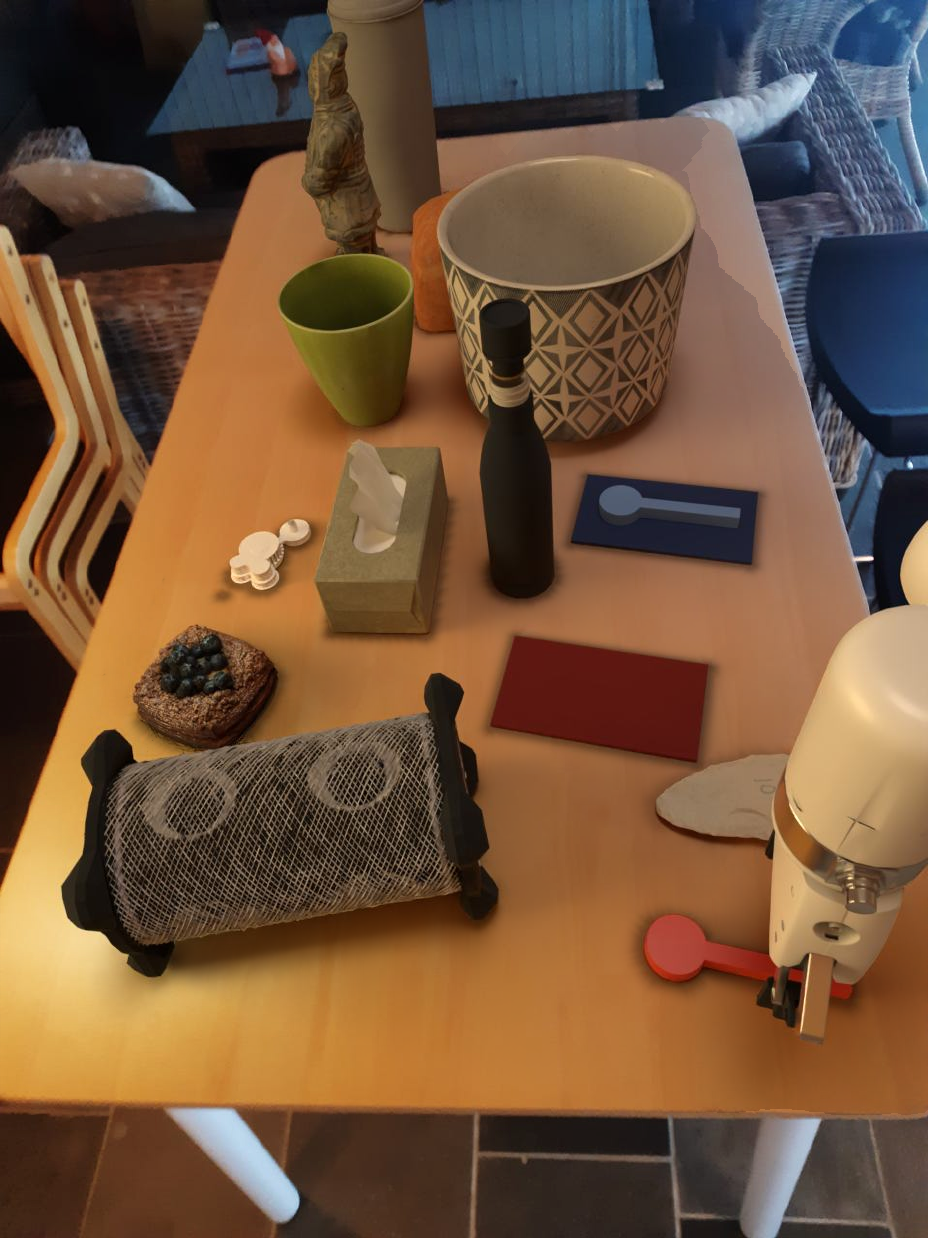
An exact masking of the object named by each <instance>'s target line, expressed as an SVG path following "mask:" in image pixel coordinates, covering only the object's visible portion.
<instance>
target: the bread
mask: <svg viewBox="0 0 928 1238" xmlns="http://www.w3.org/2000/svg"><path fill="white" fill-rule="evenodd" d="M465 187H466V186H463V187H461V188H458V189H455V190H452V191H449V192H446V193H443V194H442V195H440V196H437V197H434V198H431V199H430V200H429V201H427V202H426V203H425V204H423V205H422V206H420V207H419V208H418V209H417V211H416V212H415V213H414V214H413V231H412V233H411V234H412V235H411V236H412V239H411V245H410V253H409V254H410V255H409V258H410V268H411V269H410V270H411V275H412V277H413V281H414V313H415V315H416V320H417V324H418V327H419V329H422V330H425V331H428V332H434V333H435V332H446V331H456V329H455V324H454V319H453V314H452V309H451V303H450V298H449V293H448V288H447V283H446V278H445V273H444V268H443V263H442V258H441V253H440V248H439V242H438V237H437V225H438V220H439V218H440V215H441V213H442V211H443V209H444V208H445V206H446V205H447V204H448V202H449V201H450V200H451V199H452V198H453V197H454V196H455V195H456V194H457V193H458V192H460V191H461V190H462V189H463V188H465Z"/></svg>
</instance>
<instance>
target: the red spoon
mask: <svg viewBox="0 0 928 1238" xmlns="http://www.w3.org/2000/svg"><path fill="white" fill-rule="evenodd" d="M645 935H646V936H645V940H644V954H645V958H646V961H647V963H648V965H649V966H650V968H651V969H652V970H653V971H654V972H655V973H656V974H657V975H659V976H660V977H661V978H663V979H665V980H669V981H672V982H685V981H688V980H691V979H692V978H694V977H695V976H697V975H698V974H699V973H700V972H701V970H702V968H708V969H712V970H716V971H721V972H725V973H729V974H734V975H738V976H742V977H747V978H752V979H756V980H761V981H764V982H765V981H766V980H767V978H769V977H770V976H773V977H774V976H775V971H776V965H775V963H774V962H773V961H772V959H771V957H770V954H767V953H764V952H763V953H762V952H757V951H753V950H749V949H744V948H740V947H735V946H732V945H727V944H723V943H722V944H721V943H718V942H713V941H708V940H707V937H706V935H705V933H704V931H703V929H702V928H701V926H699V924H698V923H697V922H695V921H694V920H693V919H691V918H689V917H688V916H685V915H682V914H677V913H670V914H664V915H662V916H660V917H658V918H656V919H655V920H654V921H653V922H652V923H651V924H650V926H649V927H648V929H647V931H646V934H645ZM802 977H803V971H800V970H796V969H791V968H790V973H789V977H788V979H789V980H793V981H797V982H802ZM852 993H853V985H852V984H844V983H837V982H836V981H835V980H834V978H832V982H831V991H830V997H833V998H840V999H843V1000H848V998H849V997H851V995H852Z"/></svg>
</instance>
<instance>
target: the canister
mask: <svg viewBox="0 0 928 1238" xmlns="http://www.w3.org/2000/svg"><path fill="white" fill-rule="evenodd" d="M424 1H425V0H327V8H326V14H327V15H328V17H329V22H330V26H331V29H332V30H331V32H332V34H333V33H335V32H344V33H345V34H346V36H347V43H348V46H347V50H346V52H345V53H346V54H345V59H344V60H345V64H346V65H345V70H346V73H347V77H348V88H347V92H348V93H349V94H350V95H351V97H352V98H353V100H354V102H355V103H356V105H357V107H358V110H359V113H360V117H361V120H362V121H363V125H364V131H363V138H364V145H365V148H364V150H365V155H364V156H365V160H366V163H367V166H368V170H369V174H370V176H371V179H372V183H373V186H374V189H375V192H376V195H377V197H378V199H379V201H380V204H381V207H380V210H381V216H380V218H379V219H378V221H377V225H376V226H378V227H379V228H381V229H383V230H385V231H389V232H393V233H407V232H409V233H410V232H413V214H414V213H415V212H416V211H417V209H418V208H419V207H420V206H422V205H423V204H425V203H426V202H427V201H429V200H430V199H431V198H434V197H437V196H440V195H443V194H442V185H441V175H440V165H439V164H440V163H439V162H440V161H439V154H438V153H439V152H438V142H437V131H436V121H435V120H436V119H435V110H434V100H433V89H432V81H431V69H430V60H429V50H428V49H429V48H428V40H427V30H426V29H427V28H426V19H425V10H424V9H425V8H424Z"/></svg>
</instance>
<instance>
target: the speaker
mask: <svg viewBox="0 0 928 1238" xmlns="http://www.w3.org/2000/svg"><path fill="white" fill-rule="evenodd" d="M464 696H465V690H464V689H463V687H462V685H461V683H459V682H458V681H456V680H453V679H452V678H451V677H448V676H447V675H445V674H443V673H442V672H433V673H431V674H430V675H429V677H428V679H427V681H426V683H425V684H424V690H423V701H424V705H425V706H426V709H427V711H428V712H418V713H412V714H409V715H404V716H401V715H399V716H396V717H392V718H387V719H379V720H374V721H372V720H370V721H366V722H363V723H360V724H359V723H355V724H351V725H343V726H339V727H334V728H329V729H324V730H320V731H313V730H312V731H311V730H310V731H309V732H303V733H299V734H291V735H285V736H283V737H275V738H272V739H266V740H258V741H255V742H247V743H243V744H238V745H233V746H225V747H223V748H220V749H216V750H210V749H209V750H206V751H204V752H202V751H199V752H193V753H191V752H190V753H186V752H184V753H183V752H182V753H181V754H179V755H170V756H166V757H159V758H156V759H150V760H142V761H138V760H136V759H135V758H134V751H133V750H134V749H133V745H132V744H131V743H130V742H129V740H127V739H126V738H125V737H124V735H123V734H122V733H121V732H120V731H118V730H117V729H115V728H113V729H104V730H102V732H100V733H99V734H97V735H96V737H95V738H94V739H93V741H92V742H91V744H90V746H89V747H88V748H87V750H85V752H84V753H83V755H82V756H81V758H80V766H81V768H82V770H83V772H84V774H85V777H86V778H87V779H88V782H89V784H90V785H91V791H90V795H89V797H88V802H87V809H86V815H85V822H84V839H83V848H82V854H81V856H80V857H79V859H78V860H77V861H76V863H75V864H74V865H73V868H72V869H71V871H70V872H69V873H68V875H67V876H66V878H65V879H64V881H63V882H62V884H61V885H60V889H61V890H60V891H61V899H62V904H63V907H64V911H65V914H66V918H67V919H68V920H69V921H70V922H71V923H72V924H73V925H74V926H75V927H76V928H77V929H80V930H83V931H86V932H87V931H88V932H97V933H100V934H102V935H104V936H105V937H106V939H107V940H108V942H109V943H110V945H112V946H113V947H114V948H115V949H116V950H117V951H118V952H119V953H121V954H125V955H127V959H126V965H128V966H129V967H130V968H131V969H132V970H133V971H134V972H135V973H138V974H140V975H142V976H144V977H146V978H158V977H162V975H163V974H164V973H165V972H166V970H167V968H168V967H169V963H170V961H171V959H172V956H173V953H174V951H175V949H176V942H179V941H185V940H187V939H195V938H200V939H202V938H203V937H205V936H208V935H212V934H214V935H219V934H221V933H224V934H225V933H227V932H230V931H232V932H233V931H240V930H241V931H243V932H245V931H246V930H247V929H248V928H249V929H251V928H253V929H257V928H258V927H259V928H261V927H263V926H264V927H266V926H272V925H274V924H277V925H278V924H280V923H291V922H293V921H297V922H299V921H300V920H303V921H304V920H305V919H312V918H315V917H322V916H327V915H329V914H331V915H335V914H340V913H346V912H353V911H355V910H357V909H365V908H371V909H372V908H376V907H379V906H380V905H387V904H395V903H403V902H408V903H409V902H411V901H413V900H415V899H429V898H433V897H437V896H446V895H448V894H454V893H457V892H460V908H461V909H462V911H463V912H464V913H465V914H466V916H468V917H469V918H470V919H471V920H472V921H473V922H479V921H484V919H485V918H486V917H487V916H488V915H489V914H490V913H491V912H492V910H493V909H494V908H495V906H496V905H497V904H498V903H499V892H500V891H499V887H498V885H497V883H496V882H495V880H494V878H492V876H491V875H490V874H489V873H488V871H487V869H485V867H484V866H483V865H482V863H481V858H482V857H483V856H484V855H486V853H487V852H488V850H490V843H489V838H488V833H487V829H486V824H485V818H484V814H483V810H482V809H481V807H480V806H479V805H478V804H477V803H476V801H475V800H474V799H473V795H474V794H475V791H476V788H477V786H478V783H479V781H480V780H479V770H478V761H477V754H476V752H475V750H474V749H473V748H472V747H470V746H469V745H467V744H466V743H464V742H462V741H461V740H460V737H459V732H458V726H457V721H456V717H457V715H458V712H459V709H460V707H461V704H462V702H463V699H464ZM175 941H176V942H175Z"/></svg>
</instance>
